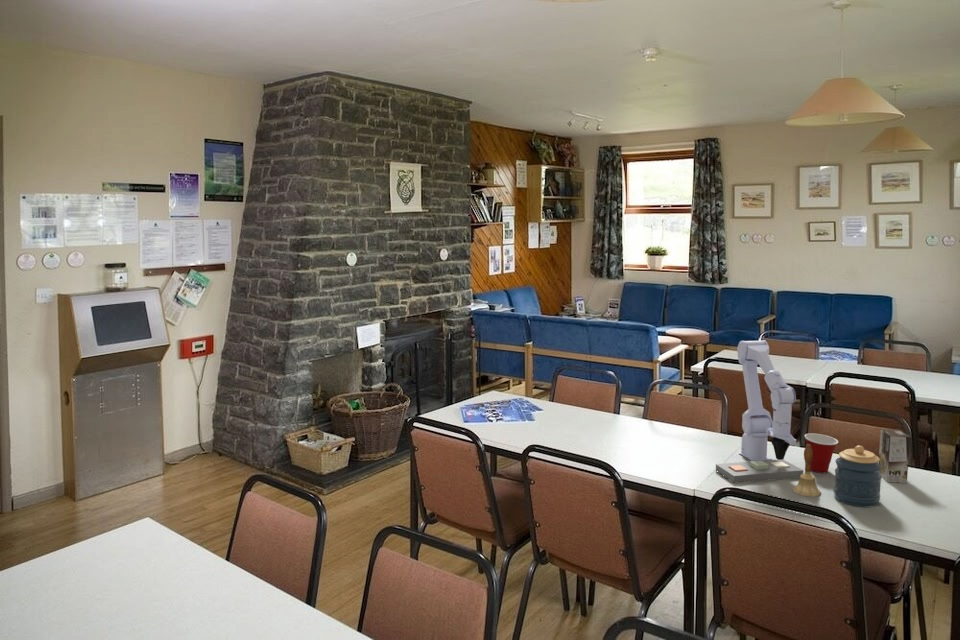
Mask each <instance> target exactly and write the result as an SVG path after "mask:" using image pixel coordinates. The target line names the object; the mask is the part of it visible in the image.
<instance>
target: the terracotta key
mask: <svg viewBox="0 0 960 640" xmlns="http://www.w3.org/2000/svg"><path fill="white" fill-rule="evenodd" d="M729 468H730V469H732V470H733V471H735V472H739V471H747V469H746V468H745V467H743V466H741V465H734V466H729Z"/></svg>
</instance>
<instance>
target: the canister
mask: <svg viewBox="0 0 960 640" xmlns="http://www.w3.org/2000/svg"><path fill="white" fill-rule="evenodd" d="M838 456H839V457H837V458H836V459H835V464H836V468H835V469H834V474H835V476H834V488H833V494H834V498H835V499H836V500H837V501H839V502H841V503H844V504H846V505H849V506H855V507H862V508H865V507H867V508H868V507H869V508H872V507H875V506H878V505H879V503H880V501H881V486H882V485H881V482H882V478H883V477H882V476H881V475H880V470H881V469H882V465H881V464H880V463H879V461H880V459H879V456H878V455H876V454H875V453H874V452H872V451H869V450H866V449H865V447H864V446H862V445H856V446H855V447H854V448H847V449H844V450H842V451H840V452H839V453H838Z"/></svg>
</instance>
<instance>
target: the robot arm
mask: <svg viewBox="0 0 960 640" xmlns="http://www.w3.org/2000/svg"><path fill="white" fill-rule="evenodd" d="M736 352H737V359H738V364H740V365H741V366H742V367H741V368H742V374H743V381H744V388H745V393H746V395H745V396H746V401H747V408H748V409H747V410H746V411H744V412H743V413H742V415H741V416H742V418H741V419H742V420H741V426H742V427H741V429H742V431H743V432H744V433H743V434H742V435H741V448H740V449H741V451H739V452H738V454H740V455H741V456H743V457H745V458H746V459H748V460H749V461H763V460H773V458H772V457H770V456H768V436H769V437H771V438H770V439H769V441H770V442H771V444H772V447H773V451H774V456H775V458H776V459H778V460H782V459H783V460H785V456H786V453H787V451H788V448H790V446H792V447H793V446H797V439H796V438H794V436H793V435H792V434H791V427H792V425H791V424H792V423H791V422H792V406H793V404H794V403H795V402H796V400H797V397H796V394H797V393H796V391H795V389H794V387H792V386H790V384H789V385H788V384H787V383H786V381H785V379H784V377H783V375H782V374H781V372H780V371H778V370H776V369H775V367H774V365H773V362H772V360H771V357H770V355H769V354H770V346H769V343H768V342H767V341H766V340H765V339H763V340H740V341H739V342H738V345H737V348H736ZM758 365H759V367H760V369H761V370H762V371H763V373H764V379H763V380H764V381H765V383H766V385H767V388H768V389H769V391H770V400H771V406H772V407H771V408H772V410H773V414H772V416H771V412H770V411H768V410H767V409H765V408H764V406H763V398H762V391H761V387H760V380H759V374H758ZM776 459H775V460H776Z"/></svg>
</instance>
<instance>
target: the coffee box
mask: <svg viewBox="0 0 960 640" xmlns="http://www.w3.org/2000/svg"><path fill="white" fill-rule="evenodd" d="M910 447H911V436H910V435H908V434H907V433H905V432H904V431H903V430H901V429H894V428H893V429H891V428H889V429H884V428H882V429H881V428H880V435H879V451H878V452H879V453H878V457H879V459H880V461H879V462H878V463H880V464H881V465H882V469H881V470H880V475H881V477H882V478H883V480H885V481H886V482H887V483H897V482H899V483H900V484H907V483H908V475H909V473H908V470H909V460H910V459H909V458H910Z"/></svg>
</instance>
